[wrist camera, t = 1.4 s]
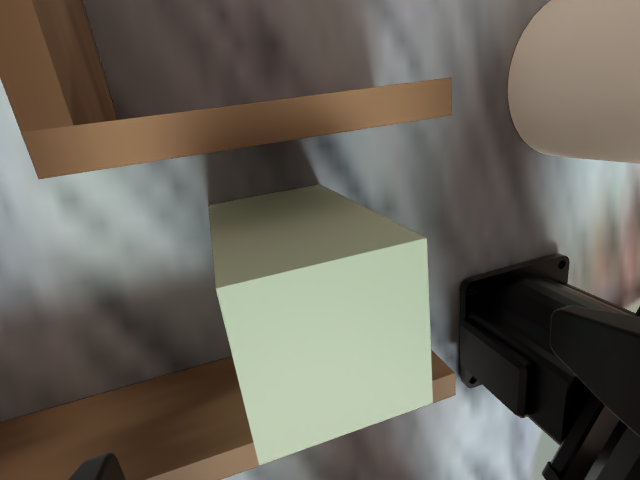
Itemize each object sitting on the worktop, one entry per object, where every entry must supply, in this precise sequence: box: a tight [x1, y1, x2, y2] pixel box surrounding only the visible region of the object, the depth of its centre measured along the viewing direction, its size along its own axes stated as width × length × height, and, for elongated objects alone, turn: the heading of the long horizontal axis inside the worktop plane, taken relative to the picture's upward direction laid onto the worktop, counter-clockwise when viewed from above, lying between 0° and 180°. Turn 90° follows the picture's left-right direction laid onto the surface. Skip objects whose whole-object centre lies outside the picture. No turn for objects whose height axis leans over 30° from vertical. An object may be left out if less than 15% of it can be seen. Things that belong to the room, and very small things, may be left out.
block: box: [208, 184, 433, 465], centre depth 12 cm, size 4×4×8 cm
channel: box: [0, 0, 455, 480], centre depth 10 cm, size 20×20×5 cm
